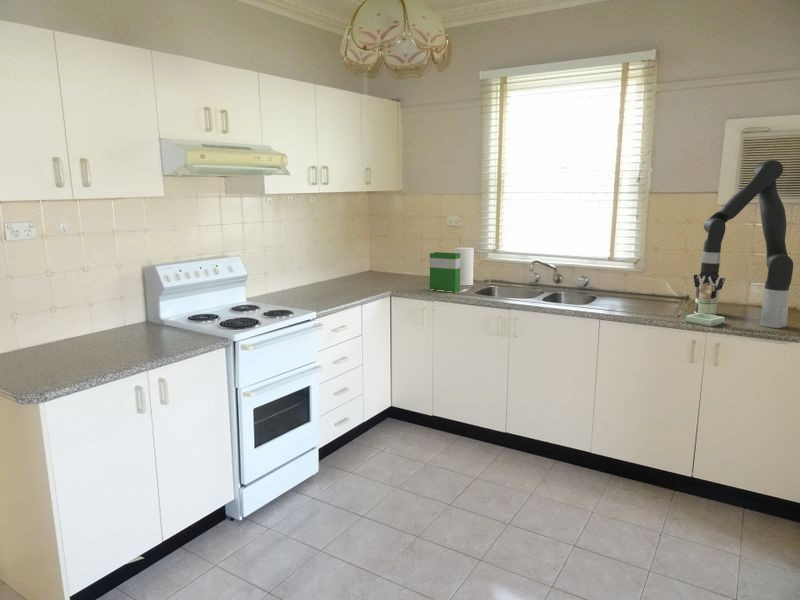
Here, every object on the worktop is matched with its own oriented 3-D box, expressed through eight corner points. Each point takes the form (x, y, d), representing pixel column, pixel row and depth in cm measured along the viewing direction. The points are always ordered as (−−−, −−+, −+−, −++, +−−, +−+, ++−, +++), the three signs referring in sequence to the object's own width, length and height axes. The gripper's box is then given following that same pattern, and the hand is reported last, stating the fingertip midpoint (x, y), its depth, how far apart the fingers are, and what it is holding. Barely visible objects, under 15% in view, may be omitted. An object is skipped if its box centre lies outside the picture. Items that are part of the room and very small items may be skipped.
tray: (724, 323, 262) (724, 317, 262) (710, 326, 256) (711, 320, 255) (698, 318, 272) (699, 312, 272) (685, 321, 266) (685, 315, 265)
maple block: (714, 299, 261) (716, 284, 260) (709, 300, 259) (710, 285, 257) (704, 297, 265) (705, 282, 264) (698, 298, 263) (700, 283, 261)
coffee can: (689, 312, 288) (691, 285, 285) (704, 310, 291) (707, 284, 288) (705, 316, 278) (708, 288, 275) (721, 314, 281) (724, 287, 278)
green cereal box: (429, 290, 355) (429, 253, 350) (434, 288, 361) (434, 252, 356) (455, 292, 346) (455, 254, 342) (459, 291, 353) (460, 253, 348)
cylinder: (472, 286, 368) (473, 249, 363) (453, 286, 370) (454, 248, 365) (473, 283, 380) (474, 247, 375) (455, 283, 382) (455, 247, 377)
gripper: (730, 262, 255) (726, 299, 258) (699, 259, 267) (696, 294, 270) (722, 264, 251) (718, 301, 254) (691, 260, 262) (687, 296, 266)
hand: (706, 297), depth 262 cm, fingers closed on maple block, 5 cm apart
